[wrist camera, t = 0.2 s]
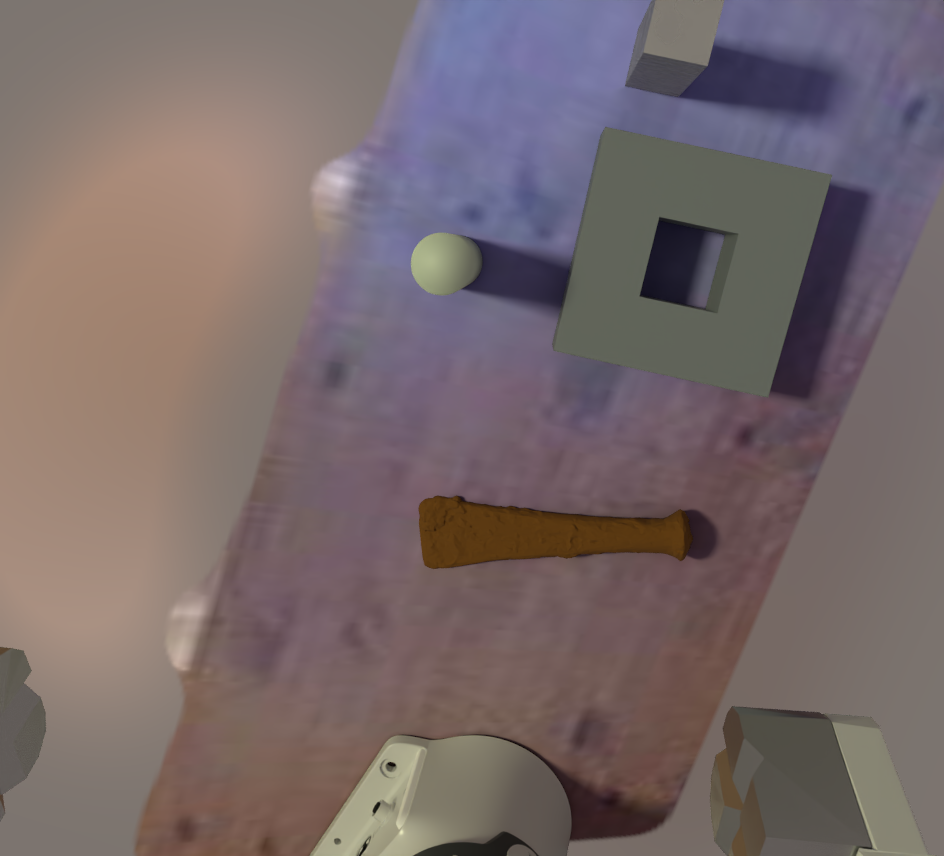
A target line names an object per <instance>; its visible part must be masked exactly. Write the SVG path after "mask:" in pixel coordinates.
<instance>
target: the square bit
mask: <svg viewBox="0 0 944 856" xmlns="http://www.w3.org/2000/svg"><path fill="white" fill-rule="evenodd" d="M723 3H724V0H652V1H651V3H650V5H649V7H648V9H647V11H646V13H645V15H644V18H643V20H642V22H641V24H640V26H639V28H638V32H637V36H636V40H635V44H634V49H633V53H632V57H631V61H630V66H629V70H628V74H627V79H626V83H625V86H627V87H632V88H636V89H641V90H646V91H651V92H655V93H660V94H665V95H670V96H674V97H679V96H680V95H681V93H682V92H683V91H684V90H685V89H686V88H687V87H688V86H689V85H690V84H691V83H692V82H693V81H694V80H695V79H696V78H697V77H698V76H699V75H700V74H701V73H702V71H703V70H704V69H705V68H706V67H707V66H708V63H709V59H710V55H711V51H712V47H713V43H714V39H715V35H716V31H717V27H718V23H719V19H720V15H721V11H722V7H723Z"/></svg>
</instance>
